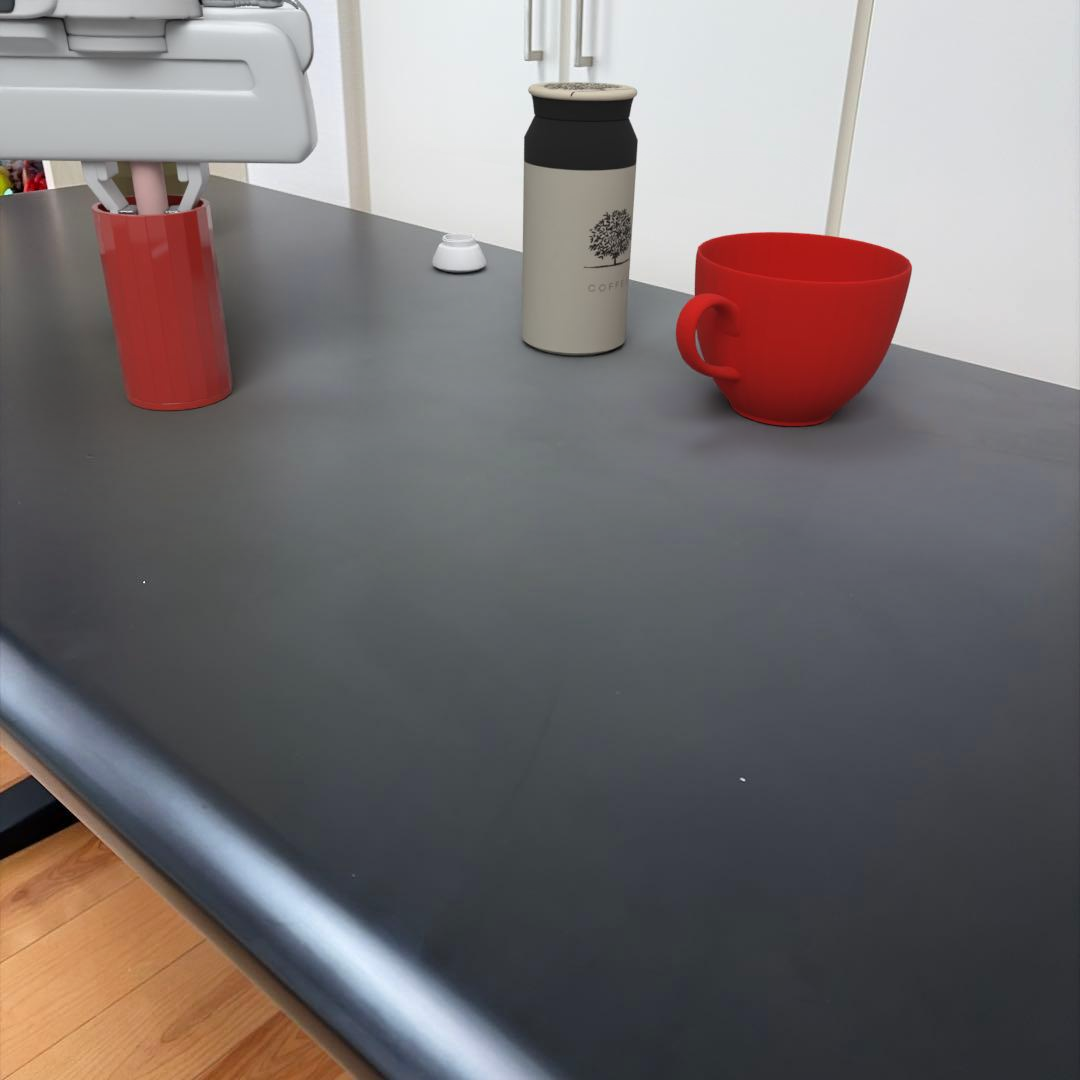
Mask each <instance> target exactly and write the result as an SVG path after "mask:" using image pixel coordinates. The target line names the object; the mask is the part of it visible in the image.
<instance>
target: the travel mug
mask: <svg viewBox="0 0 1080 1080" xmlns="http://www.w3.org/2000/svg"><path fill="white" fill-rule="evenodd" d="M527 91H528V93H529V94H530V95H531V99H532V108H533V115H534V116H533V118H532V120H531V121H530V124H529V126H528V128H527V130H526V132H525V134H524V137H523V189H522V191H523V197H522V204H523V205H522V209H523V210H522V266H521V267H522V269H521V270H522V271H521V273H522V275H521V276H522V277H521V338H522V340H523V341H524V342H525V343H526V344H528V345H529V346H531V347H532V348H534V349H537V350H539V351H541V352H545V353H548V354H555V355H561V356H572V357H576V356H577V357H579V356H594V355H598V354H599V355H600V354H604V353H607V352H610V351H612V350H614V349H616V348H619V347H620V346H621V345H623V344H624V343H625V341H626V335H627V333H626V332H627V317H628V316H627V315H628V304H629V303H628V299H629V286H630V285H629V284H630V269H631V254H632V253H631V252H632V238H633V224H634V223H633V221H634V206H635V192H636V174H637V161H638V157H637V156H638V143H639V140H638V137H637V134H636V131H635V129H634V127H633V124H632V122H631V120H630V117H631V112H632V106H633V102H634V98H635V97H637V95H638V90H637V89H636V88H635V87H634V86H630V85H626V84H624V85H623V84H616V83H607V82H591V81H589V82H588V81H551V82H540V83H539V82H538V83H534V84H531V85H530V86H529V87H528V88H527Z"/></svg>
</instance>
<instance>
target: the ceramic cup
mask: <svg viewBox="0 0 1080 1080" xmlns="http://www.w3.org/2000/svg"><path fill="white" fill-rule="evenodd" d="M694 264H695V265H694V267H695V268H694V296H692V298H690V299H689V300H688V301H686V303H685V304H684V306H683V307H682V308H681V310H680V312H679V315H678V317H677V320H676V325H675V340H676V346H677V349H678V352H679V354H680V357H681V358H682V360H683V361H684V363H685V364H686V365H687V366H689V367H690V368H691V370H693V371H695V372H696V373H698V374H700V375H703V376H705V377H709V378H712V380H713V381H714V383H715V385H716V386H717V388H718V389H719V390H720V392H721V393H722V395H723V396H724V397H725V398H726V400H728V401H729V404H730V406H731V408H732V409H733V411H735V412H736V413H737V414H739V415H740V416H742V417H745V418H747V419H750V420H752V421H755V422H758V423H759V422H760V423H763V424H768V425H773V426H782V427H805V426H806V427H807V426H812V425H817V424H822V423H824V422H826V421H828V420H829V419H831V417H832V416H833V414H834V413H836V412H838V411H839V410H840V409H842V408H843V407H844V406H845V405H847V404H848V403H849V402H850V401H852V400H853V398H855V397H856V396H857V395H859V393H860V392H861V391H862V390H863V389H864V388H865V387H866V386H867V385H868V384H869V382H870V381H871V380H872V379H873V377H874V376H875V374H876V373H877V371H878V370H879V369H880V366H881V365H882V363H883V361H884V360H885V357H886V355H887V353H888V352H889V348H890V347H891V344H892V341H893V339H894V336H895V334H896V330H897V328H898V325H899V322H900V318H901V315H902V312H903V309H904V305H905V301H906V297H907V294H908V291H909V286H910V283H911V278H912V272H913V265H912V263H911V261H910V259H909V258H907V257H906V256H904V255H903V254H901V253H899V252H897V251H895V250H894V249H890V248H888V247H884V246H882V245H877V244H875V243H870V242H867V241H863V240H857V239H853V238H847V237H840V236H834V235H827V234H817V233H807V232H806V233H804V232H789V231H788V232H786V231H760V232H758V231H757V232H741V233H734V234H725V235H721V236H716V237H713V238H709V239H707V240H705V241H703V242H702V243H700V244H699V245H698V246H697V250H696V254H695V263H694ZM696 336H697V341H698V345H699V350H700V353H701V355H700V353H699V350H698V347H697V342H696Z"/></svg>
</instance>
